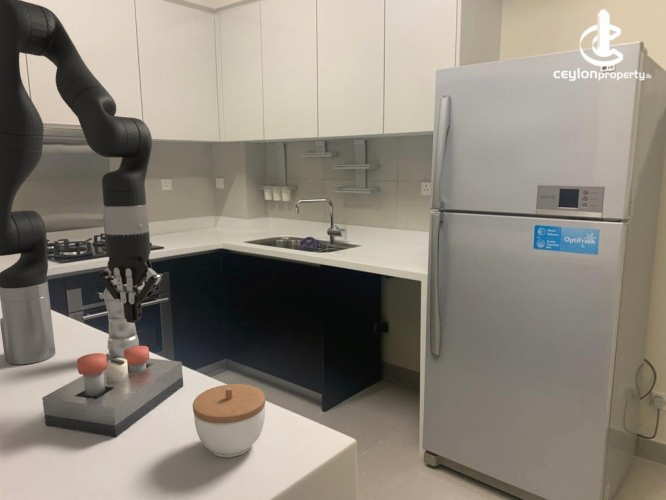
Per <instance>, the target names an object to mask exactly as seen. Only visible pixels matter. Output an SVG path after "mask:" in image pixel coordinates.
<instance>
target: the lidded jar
mask: <svg viewBox="0 0 666 500" xmlns="http://www.w3.org/2000/svg"><path fill="white" fill-rule="evenodd" d="M265 407H266V396H265V393H264V392H263V390H261V389H260V388H259V387H257V386H253V385H250V384H244V383H230V384H229V383H228V384H222V385H218V386H214V387H211V388H209V389H207V390H205V391H203V392H201V393H199V394H198V395H197V396H196V397H195V398H194V400H193V402H192V410H193V411H192V412H193V418H194V425H195V431H196V434H197V436H198V438H199V440H200V441H201V444H203V446H205V448H207V450H209V451H211V453H212V454H213V455H215V456H217V457H220V458H235V457H236V458H237V457H239V456H241V455H243V454H246V453H247V452H248V451H249V450H250V449H251V448H252V446H253V445H254V444H255V443H256V441H258V439H259V437H260V436H261V434H262V432H263V427H264V423H265V416H266V411H265V410H266V408H265Z"/></svg>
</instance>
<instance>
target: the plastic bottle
mask: <svg viewBox="0 0 666 500" xmlns="http://www.w3.org/2000/svg"><path fill="white" fill-rule="evenodd" d="M115 289H116V288H115ZM117 292H118V291H117ZM103 299H104V303H105V307H106V312H107V317H108V339H107V349H108V353H109V355H111V357H112V358H116V357H118V356H120V355H124V350H125V349H127V348H130V347H134V346H140V341H139V340H140V339H139V337H138V334H137V329H136V323H129V322H127V321H126V319H125V317H124V305H123V303H122V302H121V300H119V299H114V298H113V297H112V295H111V294H110V293H109V291H108V290H107V288H106V287H105V289H104V291H103Z"/></svg>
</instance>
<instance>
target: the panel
mask: <svg viewBox="0 0 666 500" xmlns="http://www.w3.org/2000/svg"><path fill="white" fill-rule="evenodd" d="M114 358H115V359H116V358H124V355H120V356H118V357H114ZM103 375H104V385H105V391H104V392H103V393H101V394H99V395H95V396H87V395H86V394H85V386H84V376H83V375H82V376H79V377H78V378H76V379H74V380H72V381H70V382H69V383H67V384H64V385H63V386H61V387H59V388H58V389H55V390H54V391H52V392H50V393H48V394H46V395H44V396H43V397H42V406H43V415H44V425H45V427H52V428H57V429H62V430H63V429H65V430H71V431H77V432H80V433H81V432H82V433H89V434H94V435H100V436H107V437H111V438H112V437H113V438H117V437H118V436H120V435H122V434H123V433H124V432H125V431H127V430H128V429H129V428H130V427H132V426H133V425H134V424H136V423H137V422H138V421H139V420H141V419H142V418H143V417H145V416H146V415H148V413H150V412H151V411H153V410H154V409H156V408H157V407H158V406H160V404H162V403H164V401H165V400H167V399H168V398H169V397H171V396H172V395H174V394H175V393H176V392H177V391H179V390H180V389H181V388H182V387H184V376H183V361H177V360H169V359H160V358H152V357H151V358H150V357H149V360H148V361H146V369H144V370H143V371H141V372H135V371H129V364H128V378H127V379H126V380H124V381H121V382H116V383H111V382H108V381H107V378H106V370H104V371H103Z"/></svg>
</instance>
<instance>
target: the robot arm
mask: <svg viewBox="0 0 666 500" xmlns="http://www.w3.org/2000/svg"><path fill="white" fill-rule="evenodd" d="M20 53H21V54H26V55H32V56H37V57H44V58H46V59H48V60H49V61H50V62H51V63H52V64H53V65H54V66H55V67H56V72H55V86H56V88H57V89H56V90H57V92H58V93H59V96H60V97H61V98H62V100H63V102H64V103H65V104H66V105H67V106H68V108H69V109H70V110H71V112H73V114H74V115H75V116H76V117H77V121H78V122H79V124H80V125H79V126H80V127H81V130H82V133H83V136H84V137H85V138H84V139H85V140H86V143H87V145H88V147H89V148H90V150H92V151H93V152H94V153H96V154H97V155H99V156H102V157H104V158H121V161H120V165H119V167H118V169H116V170H112V171H110V172H109V171H108V172H107V173H105V174H104V175H103V176H102V178H101V187H102V201H103V216H102V217H103V219H102V221H103V231H104V232H103V233H104V235H103V236H104V245H105V246H104V247H105V255H106V257H108V261H107V267H106V268H105V269H104V270H103V271H99V272H98V273H97V278H98V279H99V280H100V281H101V283H102V285H103V286H104V287H105V289H106V288H107V290H108V291H109V293H110V294H111V295H112V297H113V298H114V299H119V300H121V302H122V303H123V305H124V317H125V319H126V321H127V322H129V323H135V324H136V323H137V322H138V323H139V322H140V321H141V319H142V318H143V308H142V307H143V306H142V302H143V301H145V300H148V299H150V298H151V296H152V295H153V294H154V292H155V291H156V290H157V288H158V287H159V286H160V283H162V280H163V279H164V275H163V274H162V273H157V272H156V271H155V270H154V269H153V268H152V267H153V266H152V263H151V261H150V254H151V241H150V239H151V237H150V236H151V235H150V224H149V214H148V209H147V205H146V204H147V201H146V200H147V199H146V197H147V196H146V186H145V183H146V177H147V173H148V167H149V162H150V159H151V158H150V157H151V154H152V147H153V138H152V133H151V130H150V129H149V127H148V125H147V124H146V123H145V121H143V120H141V119H140V118H136V117H130V116H129V117H127V116H118V115H116V113H117V103H116V101H115V100H114V98H113V96H112V95H111V94H110V93H109V92H108V90H107V89H106V88H105V87H104V85H103V84H102V83H101V82H100V81H99V80H98V79H97V77H95V75H94V74H93V73H92V71H91V70H90V69H89V67H88V66H87V65H86V63H85V61H84V60H83V58H82V57H81V55H80V53H79V51H78V49H77V47H76V45H75V44H74V42H73V41H72V39H71V37H70V35H69V33H68V31H67V30H66V28H65V27H64V25H63V23H62V22H61V20H60V19H59V17H57V14H55V13H54V12H53V11H52V10H51V9H49V8H47V7H45V6H42V5H39V4H36V3H31V2H28V1H24V0H0V257H2V256H3V257H5V256H12V255H13V256H14V255H19V254H20V257H19V259H18V260H17V261H15V263H13V264H12V265H10V266H9V267H7V268H5V269H3V270H2V271H0V306H1V313H2V314H1V315H2V318H0V332H1V340H2V348H3V355H4V360H5V361H8V363H10V364H13V365H28V364H35V363H38V362H42V361H45V360H48V359H50V358H52V357H53V356H55V354H56V345H55V337H54V334H55V333H54V327H53V319H52V310H51V309H52V308H51V302H50V301H51V300H50V291H49V283H48V270H49V260H48V259H49V258H48V242H47V241H48V239H47V231H46V230H47V229H46V225H45V224H46V223H45V221H44V219H43V218H42V216H41V215H40V214H39V213H38V212H37V211H34V210H17V211H16V210H15V211H12V209H13V205H14V200H15V197H16V195H17V193H18V191H19V189H20V188H21V187H22V186H23V184H24V183H25V181H26V180H27V179H28V178H29V177H30V175H31V174H32V173H33V171H34V170H35V168H36V167H37V165H38V164H39V163H40V161H41V158H42V157H43V156H42V154H43V147H44V131H45V130H44V129H45V128H44V122H43V119H42V117H41V115H40V113H39V111H38V109H37V107H36V105H35V104H34V102H33V100H32V98H31V96H29V93H28V92H27V90H26V87H25V86H24V83H23V80H22V76H21V67H20ZM145 282H146V283H145ZM115 288H116V289H115ZM117 291H118V292H117Z"/></svg>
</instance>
